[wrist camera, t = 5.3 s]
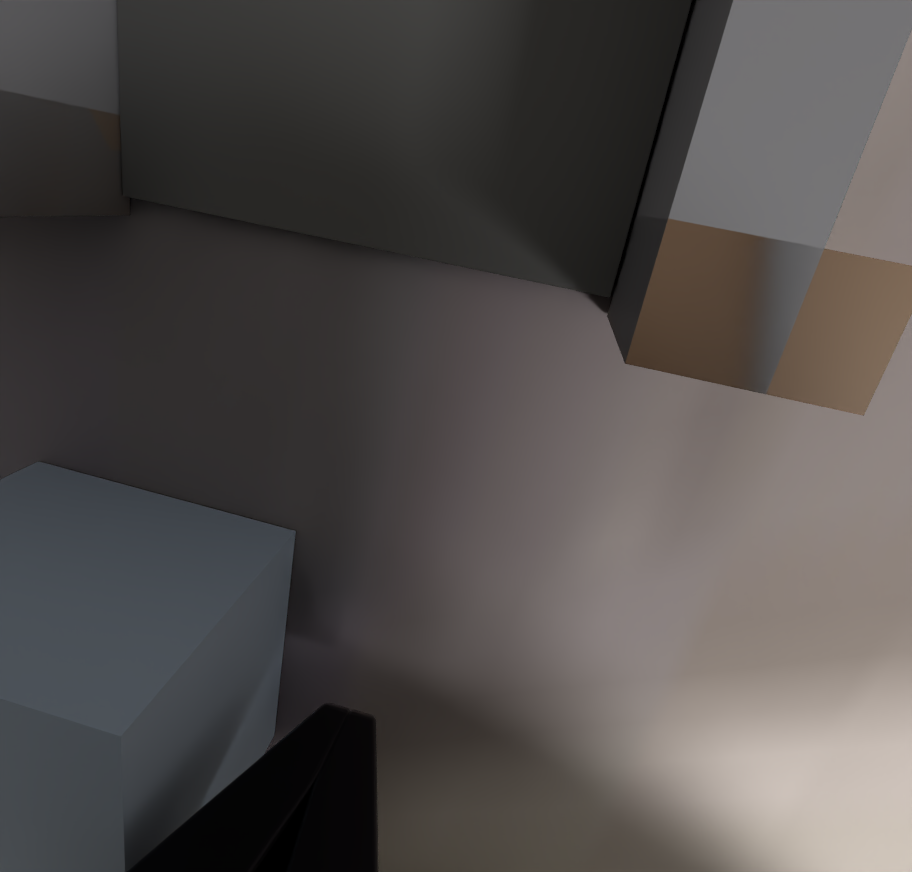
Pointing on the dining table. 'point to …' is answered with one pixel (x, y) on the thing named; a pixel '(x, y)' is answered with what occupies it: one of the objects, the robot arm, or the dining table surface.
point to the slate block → (127, 664)
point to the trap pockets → (465, 125)
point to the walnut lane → (714, 306)
